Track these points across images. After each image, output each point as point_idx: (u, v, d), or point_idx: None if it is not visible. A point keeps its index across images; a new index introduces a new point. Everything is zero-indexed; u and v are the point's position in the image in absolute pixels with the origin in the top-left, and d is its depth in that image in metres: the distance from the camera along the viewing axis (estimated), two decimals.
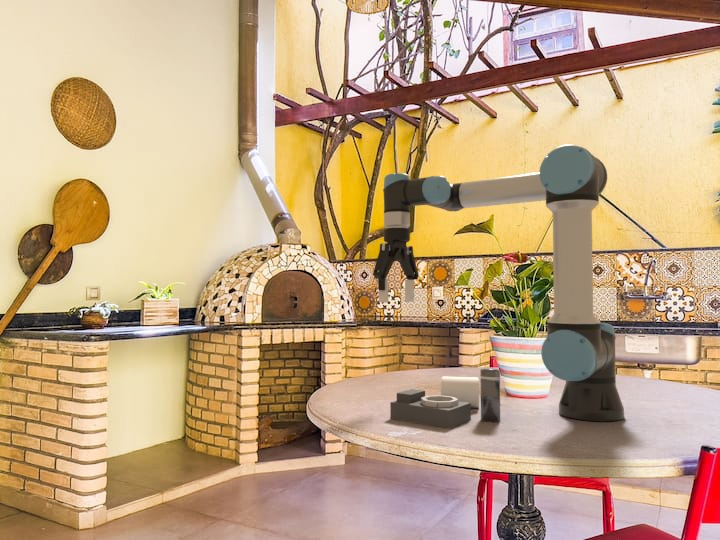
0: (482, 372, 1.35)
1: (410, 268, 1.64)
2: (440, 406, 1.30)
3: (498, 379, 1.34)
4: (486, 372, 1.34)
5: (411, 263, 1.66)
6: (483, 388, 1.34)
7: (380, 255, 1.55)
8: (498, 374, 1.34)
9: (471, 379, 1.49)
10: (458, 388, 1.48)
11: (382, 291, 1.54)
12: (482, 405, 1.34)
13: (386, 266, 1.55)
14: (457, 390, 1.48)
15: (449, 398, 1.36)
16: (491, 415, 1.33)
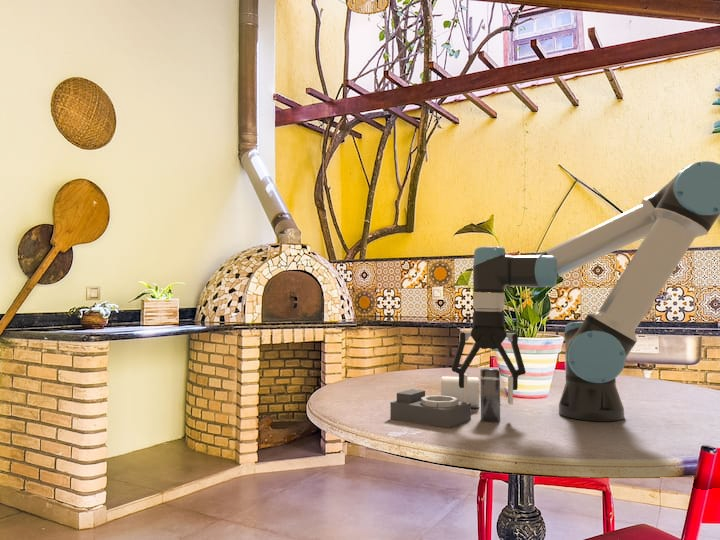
0: (482, 372, 1.35)
1: (507, 361, 1.34)
2: (440, 406, 1.30)
3: (498, 379, 1.34)
4: (486, 372, 1.34)
5: (515, 354, 1.34)
6: (483, 388, 1.34)
7: (458, 346, 1.37)
8: (498, 374, 1.34)
9: (471, 379, 1.49)
10: (458, 388, 1.48)
11: (463, 388, 1.36)
12: (482, 405, 1.34)
13: (466, 359, 1.36)
14: (457, 390, 1.48)
15: (449, 398, 1.36)
16: (491, 415, 1.33)
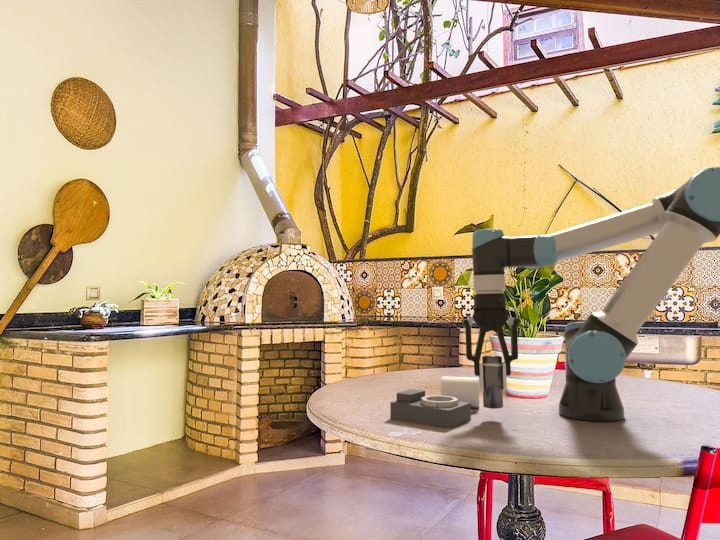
0: (484, 359, 1.34)
1: (503, 345, 1.34)
2: (440, 406, 1.30)
3: (500, 365, 1.34)
4: (488, 358, 1.34)
5: (511, 339, 1.35)
6: (486, 374, 1.34)
7: None
8: (500, 360, 1.34)
9: (471, 379, 1.49)
10: (458, 388, 1.48)
11: (479, 376, 1.36)
12: (484, 392, 1.34)
13: (477, 346, 1.35)
14: (457, 390, 1.48)
15: (449, 398, 1.36)
16: (494, 402, 1.33)
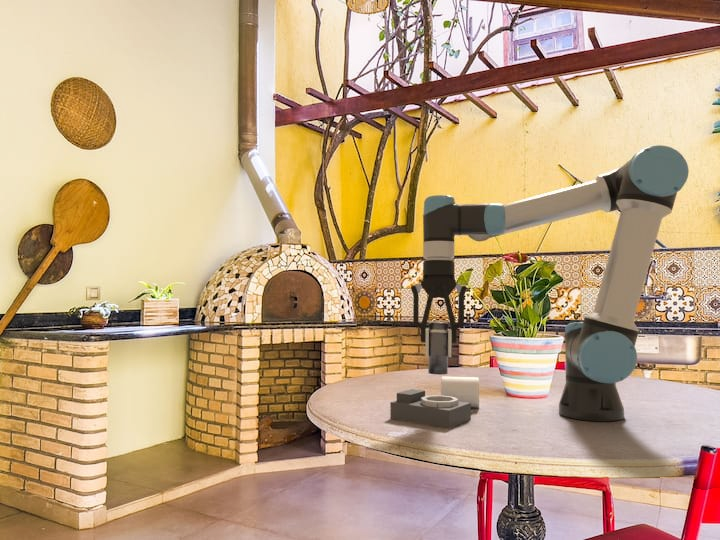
0: (430, 325, 1.34)
1: (450, 312, 1.34)
2: (440, 406, 1.30)
3: (446, 332, 1.33)
4: (434, 325, 1.33)
5: (458, 306, 1.34)
6: (431, 340, 1.34)
7: None
8: (446, 327, 1.34)
9: (471, 379, 1.49)
10: (458, 388, 1.48)
11: None
12: (429, 358, 1.34)
13: (424, 313, 1.35)
14: (457, 390, 1.48)
15: (449, 398, 1.36)
16: (438, 368, 1.33)
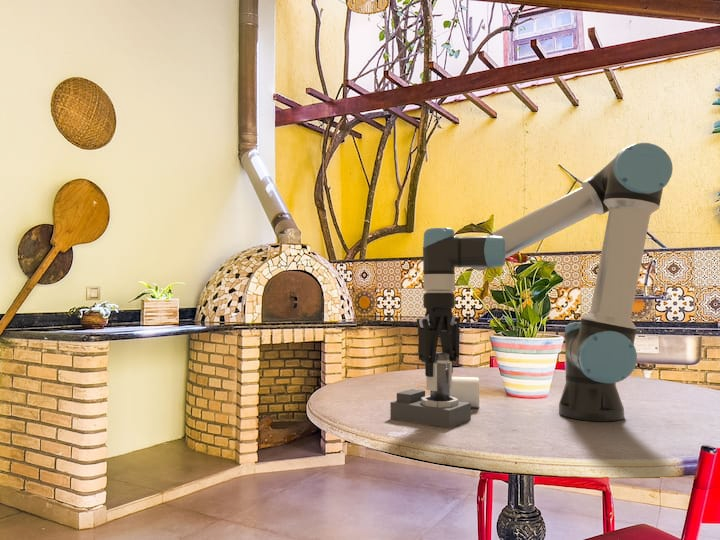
0: (436, 356, 1.33)
1: (450, 344, 1.36)
2: (440, 406, 1.30)
3: (449, 362, 1.34)
4: (441, 356, 1.32)
5: (453, 337, 1.38)
6: (438, 372, 1.32)
7: (420, 335, 1.31)
8: None
9: (471, 379, 1.49)
10: (458, 388, 1.48)
11: (430, 377, 1.33)
12: None
13: (431, 346, 1.32)
14: (457, 390, 1.48)
15: None
16: (446, 399, 1.32)
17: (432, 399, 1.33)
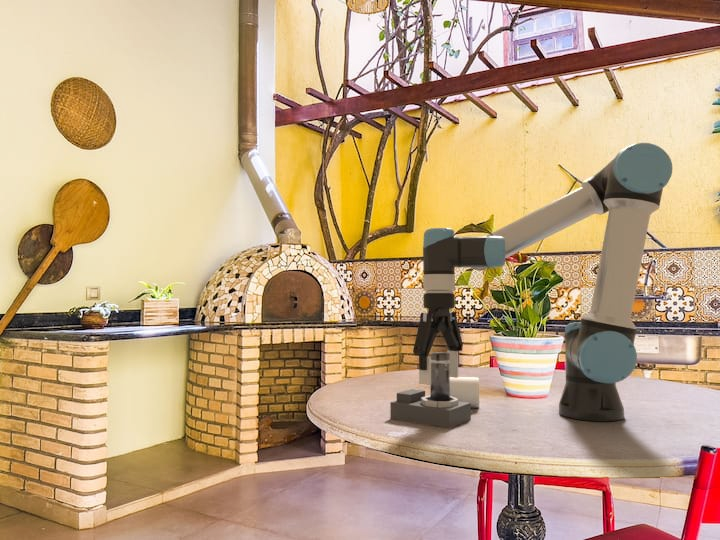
0: (438, 356, 1.33)
1: (454, 338, 1.39)
2: (440, 406, 1.30)
3: None
4: (443, 356, 1.33)
5: (454, 331, 1.40)
6: (440, 372, 1.32)
7: (421, 328, 1.29)
8: None
9: (471, 379, 1.49)
10: (458, 388, 1.48)
11: (423, 371, 1.29)
12: (438, 390, 1.32)
13: (428, 340, 1.30)
14: (457, 390, 1.48)
15: None
16: (447, 398, 1.33)
17: (433, 399, 1.33)
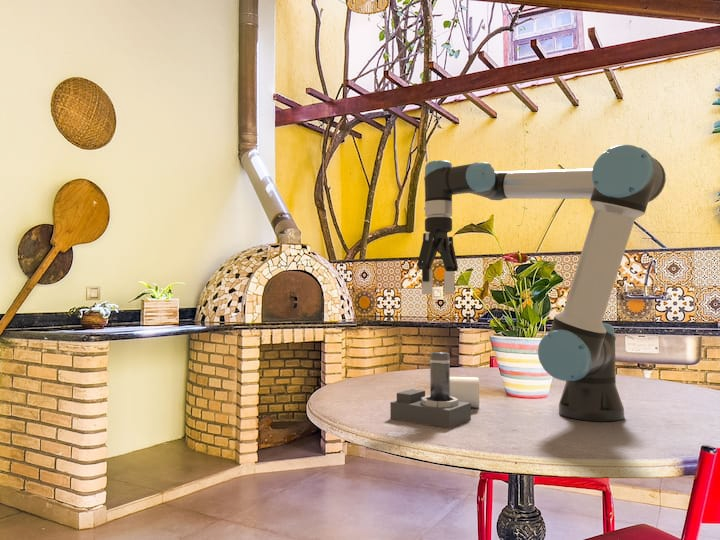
0: (438, 356, 1.33)
1: (450, 259, 1.58)
2: (440, 406, 1.30)
3: None
4: (443, 356, 1.33)
5: (451, 254, 1.60)
6: (440, 372, 1.32)
7: (424, 245, 1.49)
8: None
9: (471, 379, 1.49)
10: (458, 388, 1.48)
11: (426, 282, 1.49)
12: (438, 390, 1.32)
13: (430, 256, 1.49)
14: (457, 390, 1.48)
15: None
16: (447, 398, 1.33)
17: (433, 399, 1.33)
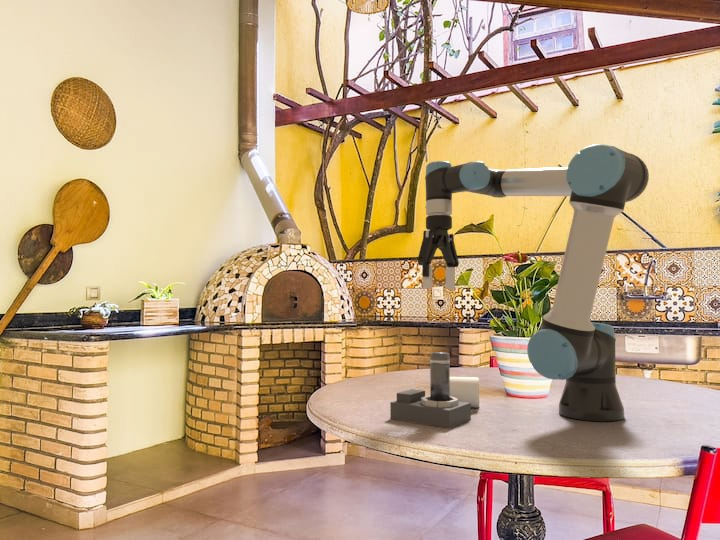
0: (438, 356, 1.33)
1: (451, 255, 1.65)
2: (440, 406, 1.30)
3: None
4: (443, 356, 1.33)
5: (452, 251, 1.67)
6: (440, 372, 1.32)
7: (424, 242, 1.56)
8: None
9: (471, 379, 1.49)
10: (458, 388, 1.48)
11: (426, 278, 1.56)
12: (438, 390, 1.32)
13: (430, 253, 1.57)
14: (457, 390, 1.48)
15: None
16: (447, 398, 1.33)
17: (433, 399, 1.33)
